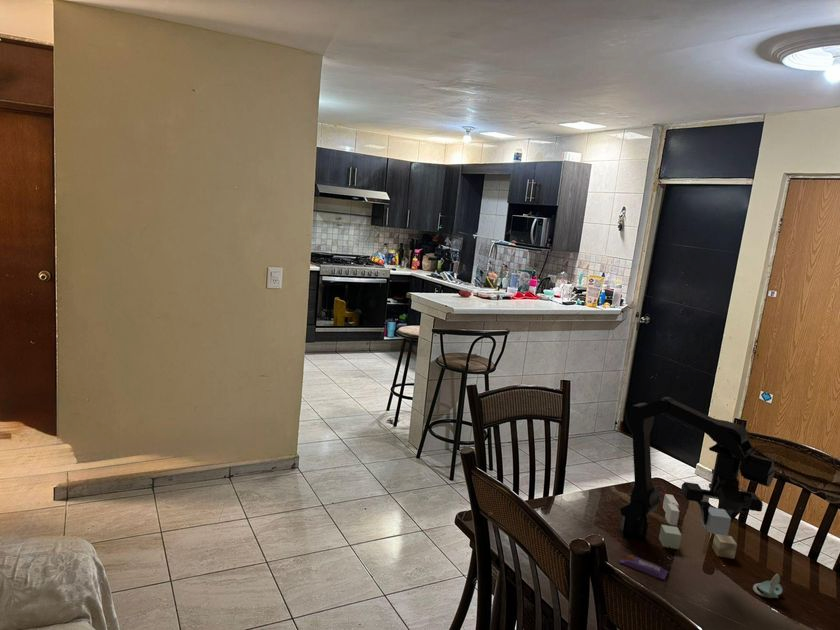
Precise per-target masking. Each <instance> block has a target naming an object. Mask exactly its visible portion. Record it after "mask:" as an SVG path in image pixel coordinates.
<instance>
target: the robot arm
mask: <svg viewBox="0 0 840 630" xmlns="http://www.w3.org/2000/svg"><path fill="white" fill-rule="evenodd" d="M660 414H666V415H668V416H670V417H672V418H674V419H676V420H678V421H680V422H681V423H685V424H687V425H688V426H690V427H693V428H695V429H697V430H699V431H701V432H703V433H704V434H706V435H707V436H708V437H709V438H710V439H711V440H712V441H713V442H715V444H714V445H712V446H709V448H708V450H709V451H711V452H714V453H716V456H715V462H714V466H713V468H712V469H711V474H712V478H711V482H710V483H708V488H709V489H704V488H702V487H701V486H700V485H699V483H694V482H688V481H685V482H683V483H682V484H681V488H680V492H681V493H682V495H683V496H684V497H685V499H686V500H688V501H691V502H697V504H698V505H699V508H700V509H699V510H700V513H701V518H702V519H703V523H704V525H706V523H707V520H708V511H709V507H712V505H711V503H710V499H715V500H718V502H719V507H720V509H724V510H725V511H726V512H727V514H728V515H729V516H730V518H731V522H730V525H731V524H732V523H733V521H734V520H735V519H736V517H737V516H739V514H741V513H748V511H754V512H759V513H760V512H763V507H764V504H763V501H762V499H760V498H759V497H758V495H757V494H756V493H755V492H752V491H751V492H750V491H744V490H740V483H739V482H740V480H739V479H738V478H739V473H740V476H741V477H742V478H743V479H744V480H747V481H750V482H753V483H756V484H759V485H761V486H764V487H767V488H769V487H770V486H771V485H772V482H773V480H774V477H775V474H776V471H775V460H774V459H772V458H767V457H763V456H759V455H756V454H755V453H756V452H755V450H754V448H753V446H752V444H751V442H750V440H749V433H748V431H747V429H746V428H745V426H743V425H742V424H738V423H736V422H731V421H730V420H729V421H728V420H721V419H718V418H713V417H711V416H709V415H707V414H705V413H703V412H701V411H698V410H696V409H695V408H691V407H690V406H688V405H685V404H684V403H681V402H680V401H677V400H675V399H674V398H673V397H670V396H665V397H663V398H662V397H661V398H659V399H658V400H656V401H654V402H649V403H647V402H640V403H636V404H634V405H630V406H629V407H627V409H626V411H625V420H626V424H627V428H628V430H629V431H630V434H631V435H632V436H631V437H632V453H633V454H632V455H633V471H634V472H633V474H634V476H633V477H634V478H633V479H634V484H633V488H632V490H631V493H630V497H629V498H630V499H629V503H627V504H625V505H623V506H621V508H620V513H621V514H620V515H621V516H622V518H621V523H620V524H619V530H620V532H621V535H622V537H623V538H627V539H632V540H636V541H643V542H644V541H646V539H647V538H646V537H647V536H648V535H647V534H648V529H649V521H648V517H647V515H649V514H650V513H653V512H654V511H656V510H657V509H658V507H659V505H660V503H662V501H661V499H660V498H661V497H660V494H661V491H660V490H661V489H659V488H655V486H654V485H653V481H652V463H651V462H652V461H651V459H652V458H651V456H652V455H651V443H650V442H651V441H650V438H651V437H650V434H651V431H652V429H653V426H654V420H655V419H654V418H655V416H658V415H660Z"/></svg>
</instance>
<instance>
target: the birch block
mask: <svg viewBox="0 0 840 630" xmlns="http://www.w3.org/2000/svg"><path fill="white" fill-rule="evenodd" d="M713 535H714V537H713V540H712V541H713V542H712V547H711V548H712V550H713V551H714V553H715V554H716V556H717V557H721V558H728V559H732V560H734V559H735V557H736V553H737V547H738V544H737V542H736V541H735V540H734V537H732V536H731V535H728V536H724V535H718V534H713Z"/></svg>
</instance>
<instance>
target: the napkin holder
mask: <svg viewBox="0 0 840 630" xmlns="http://www.w3.org/2000/svg"><path fill="white" fill-rule="evenodd" d="M663 497H664V498H663V503H662V508H663V510H664V512H665V513H664V514H665V515H664V518H665V520H666V522H667V523H669V524H670V525H669V524H668V525H669V526H674V527H677V526H678V522H679V517H680V510H679V507H680V505H679V503H678V501H677V500H676V499H675V497H674V495H673V494H667V493H665V494H664V496H663Z"/></svg>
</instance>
